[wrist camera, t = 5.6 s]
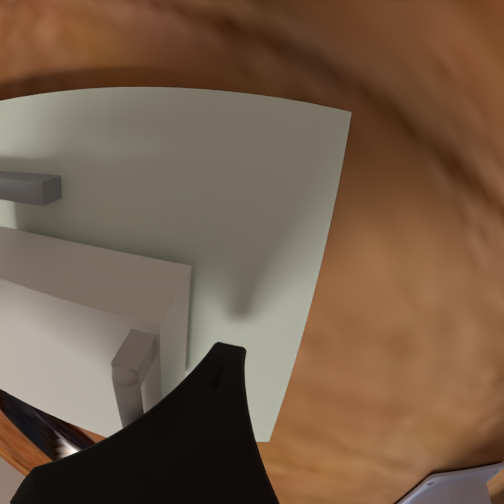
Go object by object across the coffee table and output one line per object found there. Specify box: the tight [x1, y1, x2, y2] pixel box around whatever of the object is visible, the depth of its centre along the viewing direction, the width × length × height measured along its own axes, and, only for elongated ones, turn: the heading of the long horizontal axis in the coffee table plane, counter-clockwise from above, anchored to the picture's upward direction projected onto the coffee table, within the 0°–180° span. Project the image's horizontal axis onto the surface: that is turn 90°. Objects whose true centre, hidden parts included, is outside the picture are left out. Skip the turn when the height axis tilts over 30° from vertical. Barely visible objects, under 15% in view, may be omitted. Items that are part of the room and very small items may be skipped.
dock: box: [0, 87, 352, 442], centre depth 12 cm, size 16×17×5 cm
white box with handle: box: [0, 226, 192, 437], centre depth 9 cm, size 6×8×5 cm
